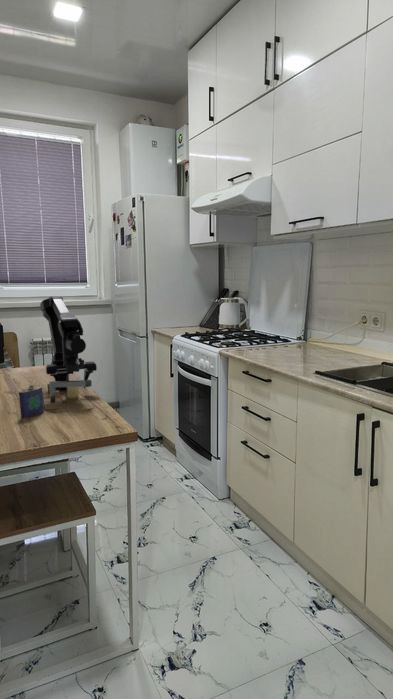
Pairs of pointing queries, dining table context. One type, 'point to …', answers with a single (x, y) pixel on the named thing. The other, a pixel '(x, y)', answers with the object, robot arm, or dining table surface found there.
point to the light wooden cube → (72, 392)
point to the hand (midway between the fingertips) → (72, 389)
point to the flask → (31, 402)
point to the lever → (66, 384)
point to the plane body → (48, 403)
